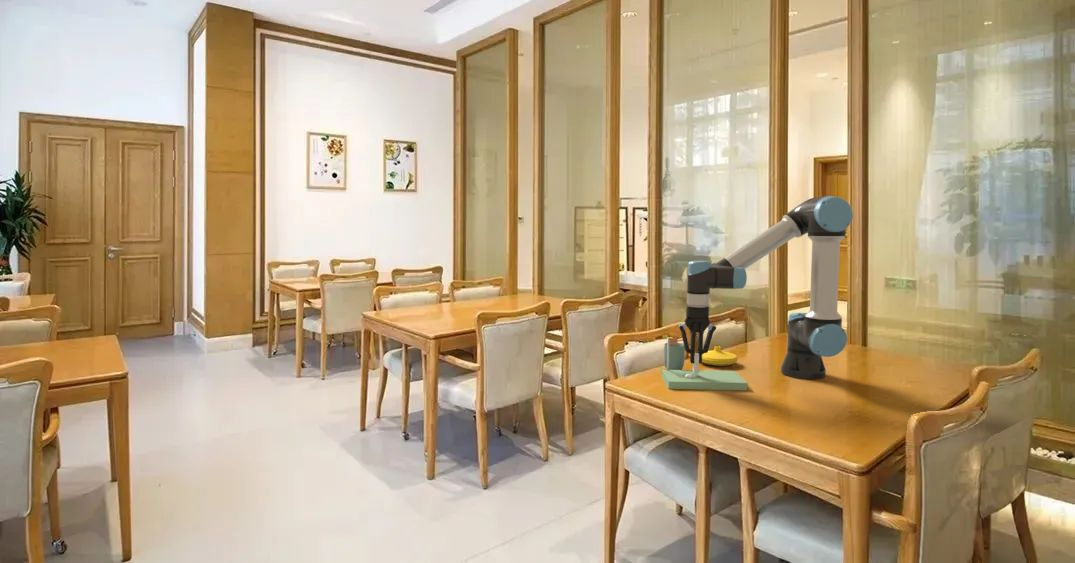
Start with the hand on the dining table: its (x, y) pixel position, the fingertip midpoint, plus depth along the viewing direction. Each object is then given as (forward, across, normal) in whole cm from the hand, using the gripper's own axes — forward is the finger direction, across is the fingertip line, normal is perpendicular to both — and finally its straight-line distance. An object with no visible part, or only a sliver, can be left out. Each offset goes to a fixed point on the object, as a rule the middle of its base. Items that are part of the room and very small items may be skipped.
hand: (695, 372), depth 210 cm
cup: (+4, +4, -17) cm, 18 cm away
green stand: (+4, -2, 0) cm, 4 cm away
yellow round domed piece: (+4, -14, -29) cm, 33 cm away
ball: (+2, +2, 0) cm, 3 cm away
